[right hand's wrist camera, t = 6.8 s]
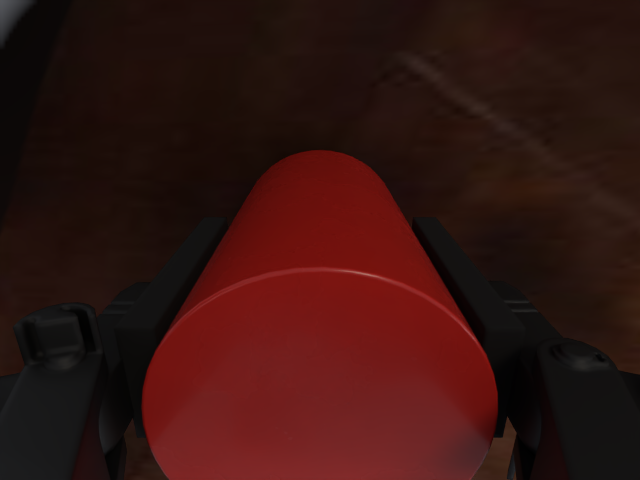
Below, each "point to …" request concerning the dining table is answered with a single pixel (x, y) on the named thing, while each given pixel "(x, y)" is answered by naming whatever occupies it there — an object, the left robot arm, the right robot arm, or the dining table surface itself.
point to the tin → (319, 345)
